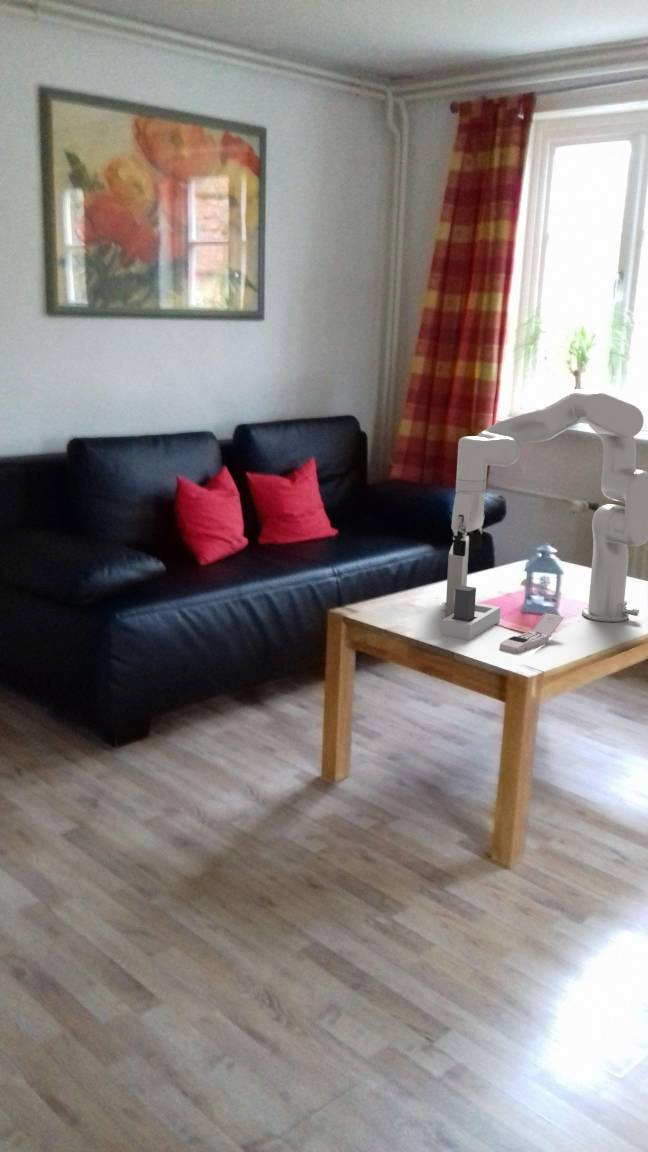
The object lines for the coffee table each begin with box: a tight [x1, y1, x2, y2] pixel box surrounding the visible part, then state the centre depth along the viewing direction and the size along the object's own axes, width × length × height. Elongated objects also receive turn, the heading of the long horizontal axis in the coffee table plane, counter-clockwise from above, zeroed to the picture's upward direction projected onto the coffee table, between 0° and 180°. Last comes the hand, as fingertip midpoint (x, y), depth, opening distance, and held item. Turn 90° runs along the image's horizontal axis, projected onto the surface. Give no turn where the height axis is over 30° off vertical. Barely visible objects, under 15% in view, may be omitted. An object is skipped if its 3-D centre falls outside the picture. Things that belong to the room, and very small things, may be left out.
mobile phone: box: [499, 612, 565, 654], centre depth 261 cm, size 6×6×25 cm
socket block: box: [440, 602, 502, 641], centre depth 271 cm, size 8×20×5 cm, turn 148°
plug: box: [454, 585, 477, 622], centre depth 266 cm, size 5×4×12 cm
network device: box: [441, 535, 470, 618], centre depth 286 cm, size 26×9×20 cm, turn 168°
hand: (466, 552), depth 262 cm, fingers open, 9 cm apart
